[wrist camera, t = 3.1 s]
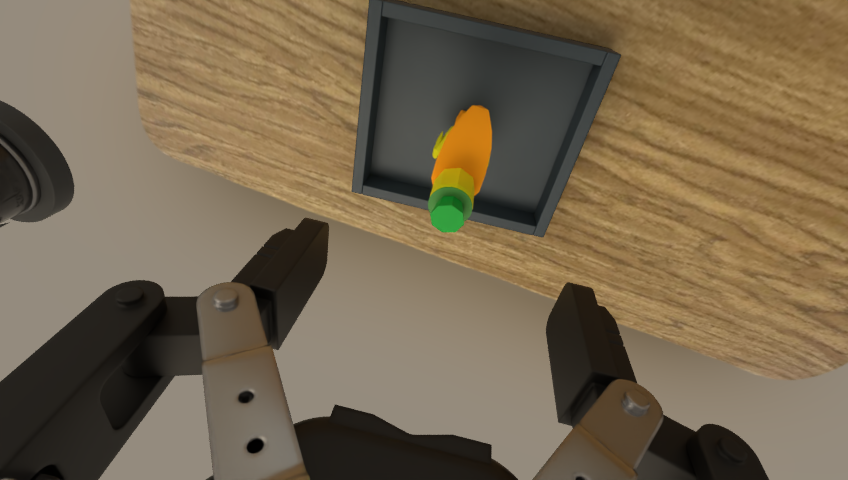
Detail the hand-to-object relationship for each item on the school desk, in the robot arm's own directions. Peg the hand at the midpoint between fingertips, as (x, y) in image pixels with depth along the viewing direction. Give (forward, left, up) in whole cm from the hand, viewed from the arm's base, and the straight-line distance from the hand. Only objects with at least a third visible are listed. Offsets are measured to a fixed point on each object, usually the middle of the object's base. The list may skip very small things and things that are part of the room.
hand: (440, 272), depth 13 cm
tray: (0, 0, -18) cm, 18 cm away
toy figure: (0, 0, -17) cm, 17 cm away
